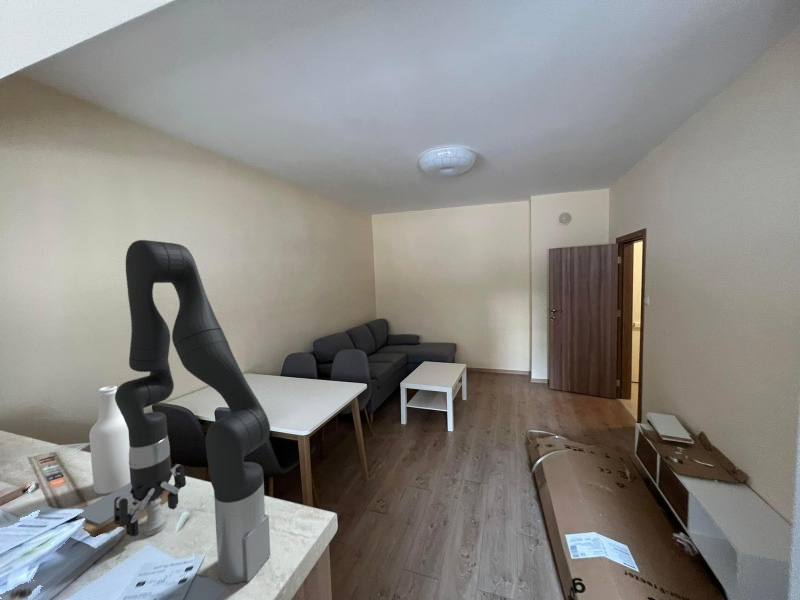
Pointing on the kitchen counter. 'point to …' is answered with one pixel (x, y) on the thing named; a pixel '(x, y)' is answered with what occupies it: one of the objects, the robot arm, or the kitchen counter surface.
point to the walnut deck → (110, 525)
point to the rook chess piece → (154, 517)
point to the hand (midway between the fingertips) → (154, 520)
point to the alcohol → (109, 445)
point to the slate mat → (104, 507)
